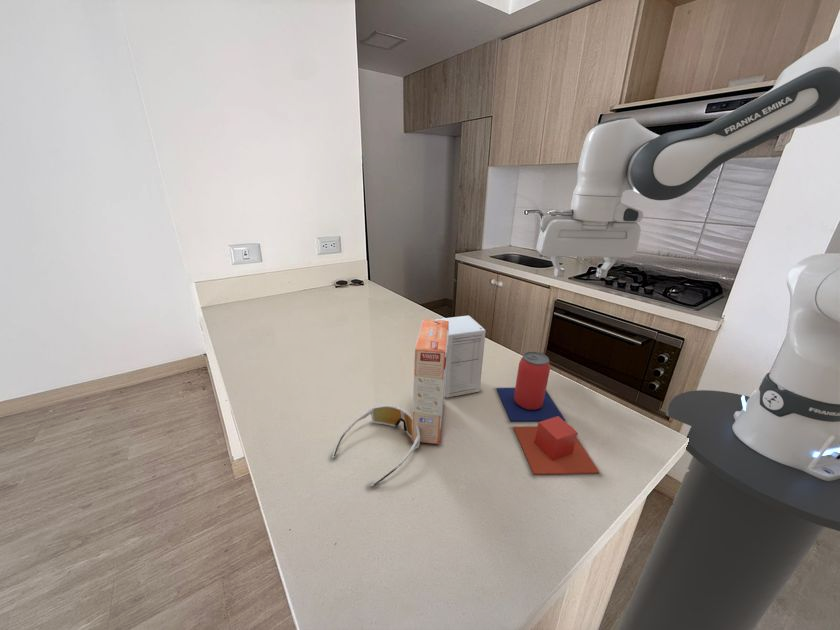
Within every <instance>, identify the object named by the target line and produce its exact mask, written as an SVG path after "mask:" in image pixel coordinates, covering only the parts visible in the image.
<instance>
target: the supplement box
mask: <svg viewBox="0 0 840 630" xmlns="http://www.w3.org/2000/svg"><path fill="white" fill-rule="evenodd" d="M434 320H445V321H449V333H448V354H447V367H446V379H445V391H444V399H447V398H452V397H458V396H463V395H468V394H473V393H479V392H480V391H481V381H482V371H483V362H484V361H483V360H484V351H485V344H486V343H485V342H486V334H487V333H486V329H485V328H484V327H483V326H482V325H481V324H479V322H477V321H476V320H475V319H474V318H473V317H471V316H470V315H469V314H468V315H461V316H452V317H444V318H435V319H434Z"/></svg>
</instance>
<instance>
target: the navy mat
mask: <svg viewBox="0 0 840 630" xmlns="http://www.w3.org/2000/svg"><path fill="white" fill-rule="evenodd" d="M496 391H497V394H498V396H499V399H500V400H501V401H500V402H501V403H502V405H503V408H504V411H505V412H506V415H507V418H508V419H509V421H510V423H514V422H515V423H517V422H519V423H521V422H526V423H527V422H530V423H531V422H533V423H534V422H540V421H544V420H547V419H550V418H554V417H557V416H559V417H560V418H561V419H562V420H564V421H565V422H566V419H565V418H564V416H563V414H562V413H561V411H560V410H559V409H558V407H557V405H556V404H555V402H554V400H553V399H552V398H551V396H550V394H549V393H548V391H546V392H545V397H544V402H543V406H542V407H541V408H539V409H537V410H527V409H524V408H522V407H520V406H519V405H517V404H516V402H515V401H514V392H515V387H496Z"/></svg>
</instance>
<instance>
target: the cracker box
mask: <svg viewBox="0 0 840 630" xmlns="http://www.w3.org/2000/svg"><path fill="white" fill-rule="evenodd" d="M448 333H449V321H445V320H435V319H429V318H422V320H421V324H420V328H419V332H418V336H417V339H416V343H415V347H414V359H413V360H414V362H413V363H414V364H413V387H412V388H413V389H412V414H411V415H412V439H411V442H412V443H414V441H415V440H416V437H417V429H416V427H415V426H418V428H419V432H420V443H423V444H432V445H440V440H441V439H440V438H441V430H442V421H443V420H442V419H443V411H444V403H445V402H444V400H445V397H444V391H445V379H446V367H447V354H448Z"/></svg>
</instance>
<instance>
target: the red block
mask: <svg viewBox="0 0 840 630" xmlns="http://www.w3.org/2000/svg"><path fill="white" fill-rule="evenodd" d="M537 422H538V423H537V426H536V427H537V432H536V437H535V443H536V444H537V445H538V446H539V447H540V448H541V449H542V450H543V451H544V452H545V453H546V454H547V455H548V456H549V457H550V458H551V459H552V460H555V459H558V458H560V457H563V456H566V455H569V454H571V453H573V450H574V446H575V442H576V438H577V439H578V434H579V432H578V431H577V430H576V429H575V428H573V427H572V426H571V425H570V424H568V423H567V422H566V420H565V421H564V420H562V419H561V418H560V417H559V416H557V417H554V418H550V419H547V420H544V421H537Z"/></svg>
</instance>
